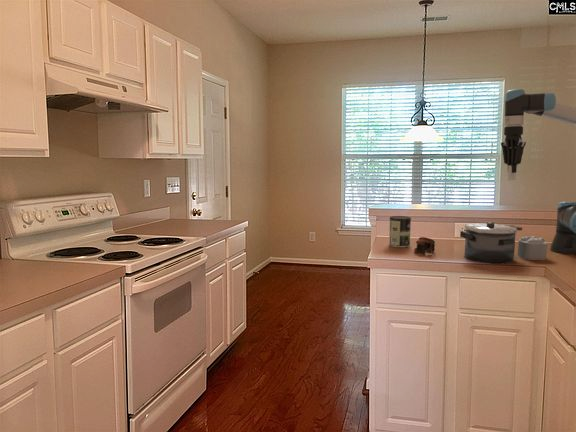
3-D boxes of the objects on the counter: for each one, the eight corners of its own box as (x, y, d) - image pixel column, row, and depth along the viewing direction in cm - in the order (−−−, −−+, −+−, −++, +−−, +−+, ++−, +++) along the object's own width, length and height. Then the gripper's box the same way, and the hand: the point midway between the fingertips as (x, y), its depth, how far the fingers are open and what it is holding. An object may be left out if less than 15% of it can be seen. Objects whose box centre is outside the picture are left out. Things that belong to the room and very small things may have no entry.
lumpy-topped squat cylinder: (523, 259, 209) (524, 239, 208) (513, 252, 222) (515, 234, 220) (548, 260, 207) (550, 240, 206) (537, 253, 220) (539, 234, 219)
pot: (490, 250, 225) (492, 225, 224) (528, 263, 201) (530, 235, 199) (447, 253, 220) (448, 227, 219) (480, 266, 196) (482, 237, 194)
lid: (501, 225, 222) (501, 218, 222) (533, 233, 202) (534, 225, 201) (455, 227, 217) (455, 220, 216) (483, 235, 197) (484, 227, 196)
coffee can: (410, 243, 242) (411, 216, 240) (409, 248, 232) (410, 219, 230) (389, 242, 244) (390, 215, 242) (387, 246, 235) (388, 218, 233)
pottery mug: (408, 252, 224) (413, 236, 226) (424, 260, 227) (429, 244, 229) (424, 251, 213) (429, 234, 215) (441, 259, 216) (445, 242, 218)
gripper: (496, 126, 215) (494, 179, 219) (517, 125, 203) (515, 181, 206) (510, 126, 217) (508, 178, 221) (532, 125, 205) (529, 180, 208)
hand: (511, 180), depth 213 cm, fingers closed
